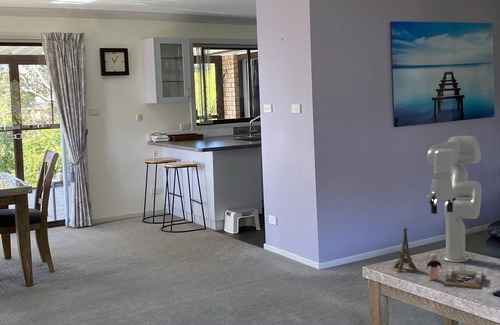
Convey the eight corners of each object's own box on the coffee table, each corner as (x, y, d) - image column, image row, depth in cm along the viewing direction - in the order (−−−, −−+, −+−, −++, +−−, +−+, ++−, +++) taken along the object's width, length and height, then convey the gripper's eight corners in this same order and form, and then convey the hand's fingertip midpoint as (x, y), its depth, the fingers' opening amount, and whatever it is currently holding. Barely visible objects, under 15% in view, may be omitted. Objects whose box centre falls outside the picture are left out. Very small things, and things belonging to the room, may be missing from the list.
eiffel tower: (397, 272, 312) (396, 222, 309) (392, 266, 323) (391, 218, 320) (418, 271, 312) (418, 221, 309) (413, 266, 323) (412, 217, 320)
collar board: (450, 272, 308) (450, 265, 308) (483, 275, 302) (483, 267, 302) (444, 285, 289) (444, 278, 288) (479, 288, 282) (479, 281, 282)
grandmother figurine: (429, 281, 295) (429, 255, 294) (424, 279, 299) (424, 253, 298) (443, 280, 297) (443, 253, 296) (439, 277, 301) (439, 251, 300)
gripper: (450, 175, 306) (450, 210, 307) (422, 176, 298) (422, 213, 300) (461, 176, 299) (461, 212, 300) (433, 178, 292) (433, 215, 293)
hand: (441, 212), depth 300 cm, fingers open, 9 cm apart
